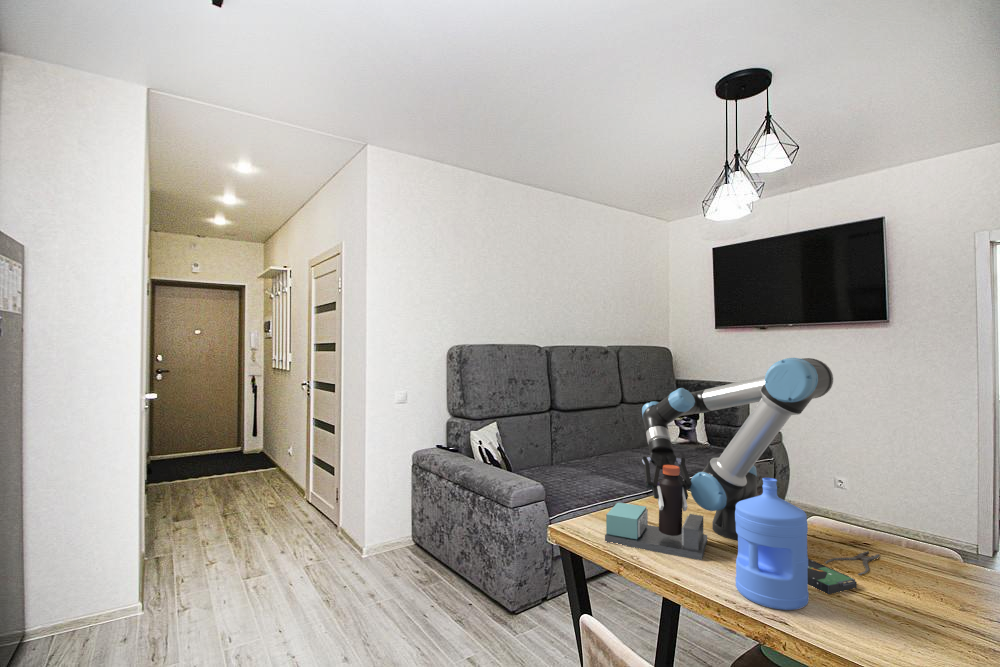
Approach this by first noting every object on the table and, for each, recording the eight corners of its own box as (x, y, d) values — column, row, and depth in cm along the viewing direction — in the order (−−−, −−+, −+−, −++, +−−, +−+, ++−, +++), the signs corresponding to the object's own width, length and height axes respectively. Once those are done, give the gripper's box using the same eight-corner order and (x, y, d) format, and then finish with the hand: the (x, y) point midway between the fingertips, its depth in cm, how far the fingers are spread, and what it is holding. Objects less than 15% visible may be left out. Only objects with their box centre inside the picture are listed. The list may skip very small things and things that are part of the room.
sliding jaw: (648, 525, 161) (648, 506, 162) (638, 539, 149) (638, 519, 149) (617, 520, 166) (617, 502, 166) (606, 533, 154) (606, 514, 154)
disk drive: (776, 571, 134) (829, 596, 120) (775, 561, 134) (829, 585, 121) (803, 566, 138) (858, 589, 124) (802, 556, 138) (857, 578, 124)
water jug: (761, 575, 131) (760, 469, 132) (823, 602, 117) (821, 483, 118) (721, 587, 124) (720, 475, 125) (781, 618, 110) (780, 491, 111)
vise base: (707, 541, 154) (707, 515, 154) (701, 560, 140) (701, 532, 140) (618, 525, 167) (618, 502, 167) (604, 541, 153) (604, 515, 153)
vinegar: (684, 531, 153) (684, 466, 153) (679, 538, 147) (680, 470, 147) (661, 526, 156) (662, 462, 157) (656, 533, 150) (657, 467, 151)
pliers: (822, 563, 137) (841, 544, 151) (822, 566, 137) (841, 547, 151) (864, 575, 130) (880, 554, 144) (864, 578, 130) (880, 557, 144)
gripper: (686, 450, 167) (703, 515, 150) (628, 448, 168) (639, 513, 151) (691, 437, 162) (709, 503, 145) (632, 436, 163) (643, 501, 146)
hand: (673, 508), depth 148 cm, fingers closed on vinegar, 6 cm apart
